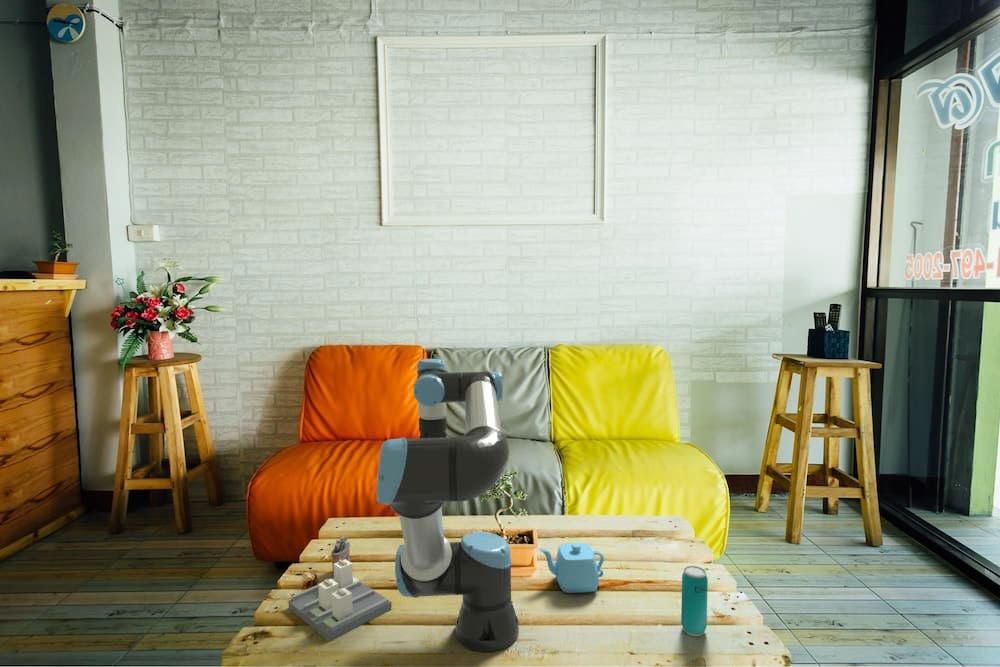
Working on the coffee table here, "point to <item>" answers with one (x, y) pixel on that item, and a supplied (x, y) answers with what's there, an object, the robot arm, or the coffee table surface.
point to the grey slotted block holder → (322, 621)
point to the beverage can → (694, 600)
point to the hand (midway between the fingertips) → (434, 501)
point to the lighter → (340, 551)
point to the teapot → (575, 567)
